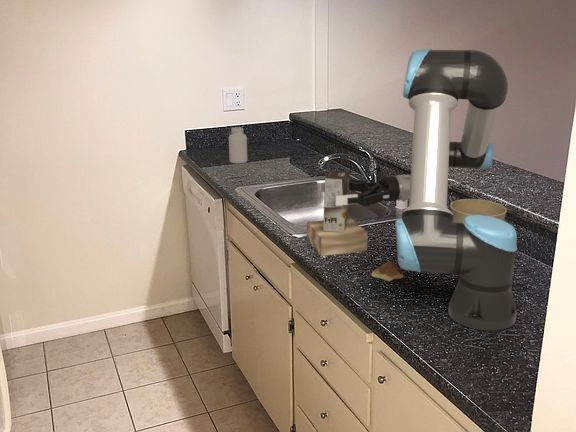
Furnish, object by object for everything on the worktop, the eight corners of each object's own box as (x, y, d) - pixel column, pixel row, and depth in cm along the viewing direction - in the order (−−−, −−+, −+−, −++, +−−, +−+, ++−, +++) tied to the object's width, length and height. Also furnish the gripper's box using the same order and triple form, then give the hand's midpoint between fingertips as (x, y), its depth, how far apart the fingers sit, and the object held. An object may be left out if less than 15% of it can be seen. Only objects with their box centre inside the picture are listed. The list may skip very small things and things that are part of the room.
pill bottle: (225, 162, 292) (224, 128, 287) (237, 158, 298) (236, 125, 293) (239, 164, 287) (238, 130, 283) (251, 161, 294) (250, 127, 289)
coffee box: (344, 232, 190) (347, 179, 185) (322, 231, 192) (324, 177, 186) (347, 222, 199) (350, 171, 194) (326, 221, 200) (328, 169, 195)
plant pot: (458, 273, 177) (463, 217, 172) (437, 252, 191) (441, 200, 186) (510, 269, 179) (517, 214, 174) (486, 249, 193) (491, 197, 188)
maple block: (366, 252, 192) (367, 232, 191) (321, 257, 189) (321, 237, 187) (350, 236, 205) (350, 217, 203) (306, 240, 202) (307, 222, 200)
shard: (390, 264, 184) (390, 258, 183) (415, 271, 179) (415, 265, 179) (370, 277, 176) (370, 271, 175) (395, 284, 171) (395, 278, 171)
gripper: (413, 213, 186) (342, 219, 181) (378, 188, 209) (314, 194, 204) (414, 187, 184) (342, 193, 179) (380, 165, 207) (315, 170, 201)
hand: (327, 194), depth 191 cm, fingers open, 13 cm apart
